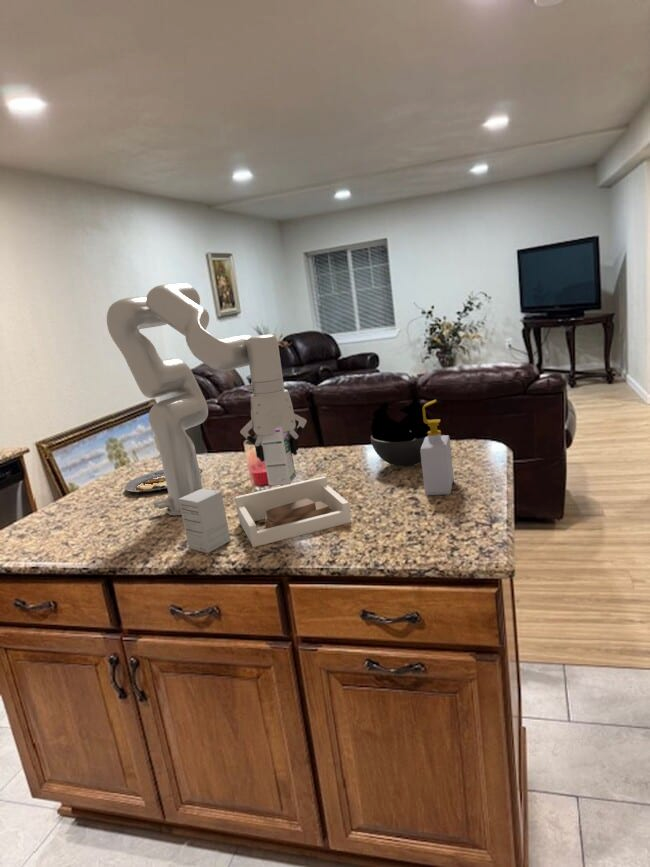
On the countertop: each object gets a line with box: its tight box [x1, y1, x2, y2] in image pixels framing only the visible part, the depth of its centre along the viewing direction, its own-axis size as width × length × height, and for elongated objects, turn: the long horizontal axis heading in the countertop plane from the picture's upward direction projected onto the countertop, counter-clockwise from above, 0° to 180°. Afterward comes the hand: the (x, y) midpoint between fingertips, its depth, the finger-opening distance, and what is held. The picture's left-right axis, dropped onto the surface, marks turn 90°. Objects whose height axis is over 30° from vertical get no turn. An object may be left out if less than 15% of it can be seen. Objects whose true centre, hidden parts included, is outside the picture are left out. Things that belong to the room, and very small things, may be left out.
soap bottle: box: [420, 399, 454, 496], centre depth 155 cm, size 12×7×23 cm, turn 165°
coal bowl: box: [370, 402, 432, 468], centre depth 179 cm, size 20×20×19 cm
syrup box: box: [261, 427, 297, 486], centre depth 148 cm, size 6×6×14 cm
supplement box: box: [178, 488, 232, 554], centre depth 140 cm, size 7×7×13 cm
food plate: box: [124, 467, 203, 493], centre depth 200 cm, size 25×23×4 cm
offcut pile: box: [256, 498, 333, 531], centre depth 145 cm, size 18×6×6 cm, turn 116°
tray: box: [234, 476, 352, 548], centre depth 148 cm, size 24×18×7 cm
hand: (278, 456), depth 148 cm, fingers closed on syrup box, 7 cm apart
